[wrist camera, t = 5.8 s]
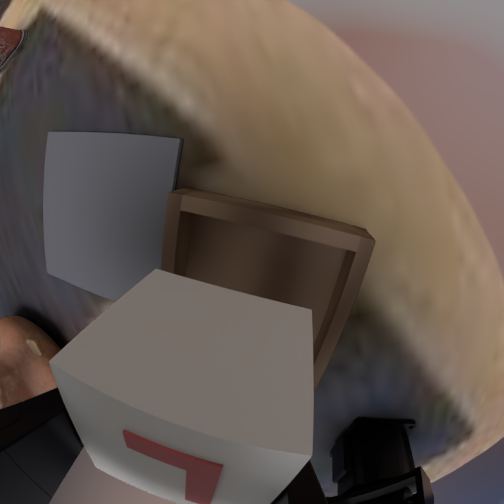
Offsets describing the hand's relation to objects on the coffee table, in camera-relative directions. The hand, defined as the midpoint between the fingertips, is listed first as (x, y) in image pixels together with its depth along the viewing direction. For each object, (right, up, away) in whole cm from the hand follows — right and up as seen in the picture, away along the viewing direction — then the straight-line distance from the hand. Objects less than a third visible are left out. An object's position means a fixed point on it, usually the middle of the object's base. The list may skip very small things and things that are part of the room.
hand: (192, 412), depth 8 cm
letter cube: (+1, +1, +3) cm, 3 cm away
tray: (+1, -2, +11) cm, 11 cm away
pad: (-9, +8, +10) cm, 15 cm away
